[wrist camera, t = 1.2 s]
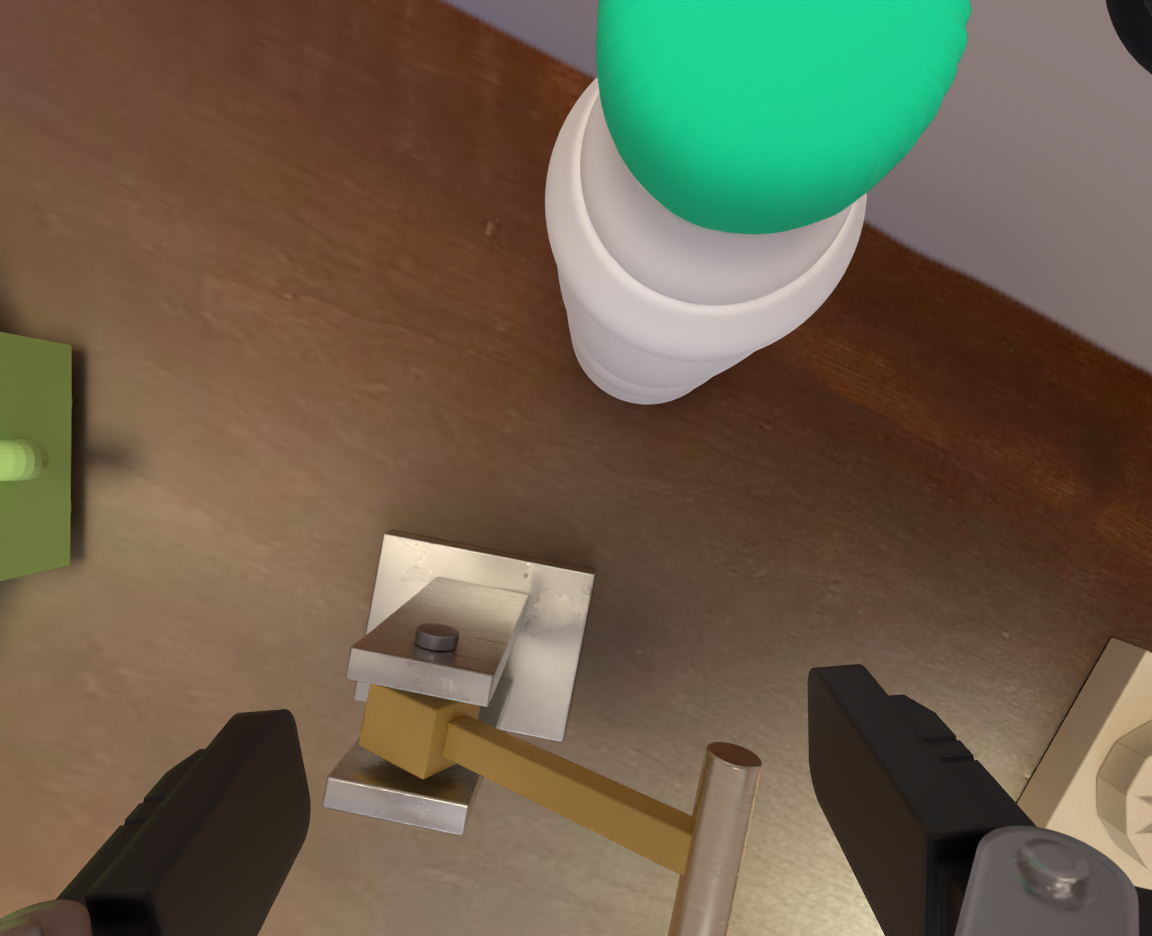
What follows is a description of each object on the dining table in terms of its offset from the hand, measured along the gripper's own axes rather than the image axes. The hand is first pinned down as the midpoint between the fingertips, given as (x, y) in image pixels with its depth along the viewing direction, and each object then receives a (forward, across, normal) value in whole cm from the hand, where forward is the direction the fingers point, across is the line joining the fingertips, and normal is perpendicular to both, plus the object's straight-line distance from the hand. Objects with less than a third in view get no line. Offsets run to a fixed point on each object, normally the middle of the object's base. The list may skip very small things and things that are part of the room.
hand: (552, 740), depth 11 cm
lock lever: (+10, +1, +7) cm, 12 cm away
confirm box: (+20, -25, +17) cm, 36 cm away
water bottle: (+24, -4, -5) cm, 25 cm away
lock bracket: (+22, +5, +8) cm, 24 cm away
